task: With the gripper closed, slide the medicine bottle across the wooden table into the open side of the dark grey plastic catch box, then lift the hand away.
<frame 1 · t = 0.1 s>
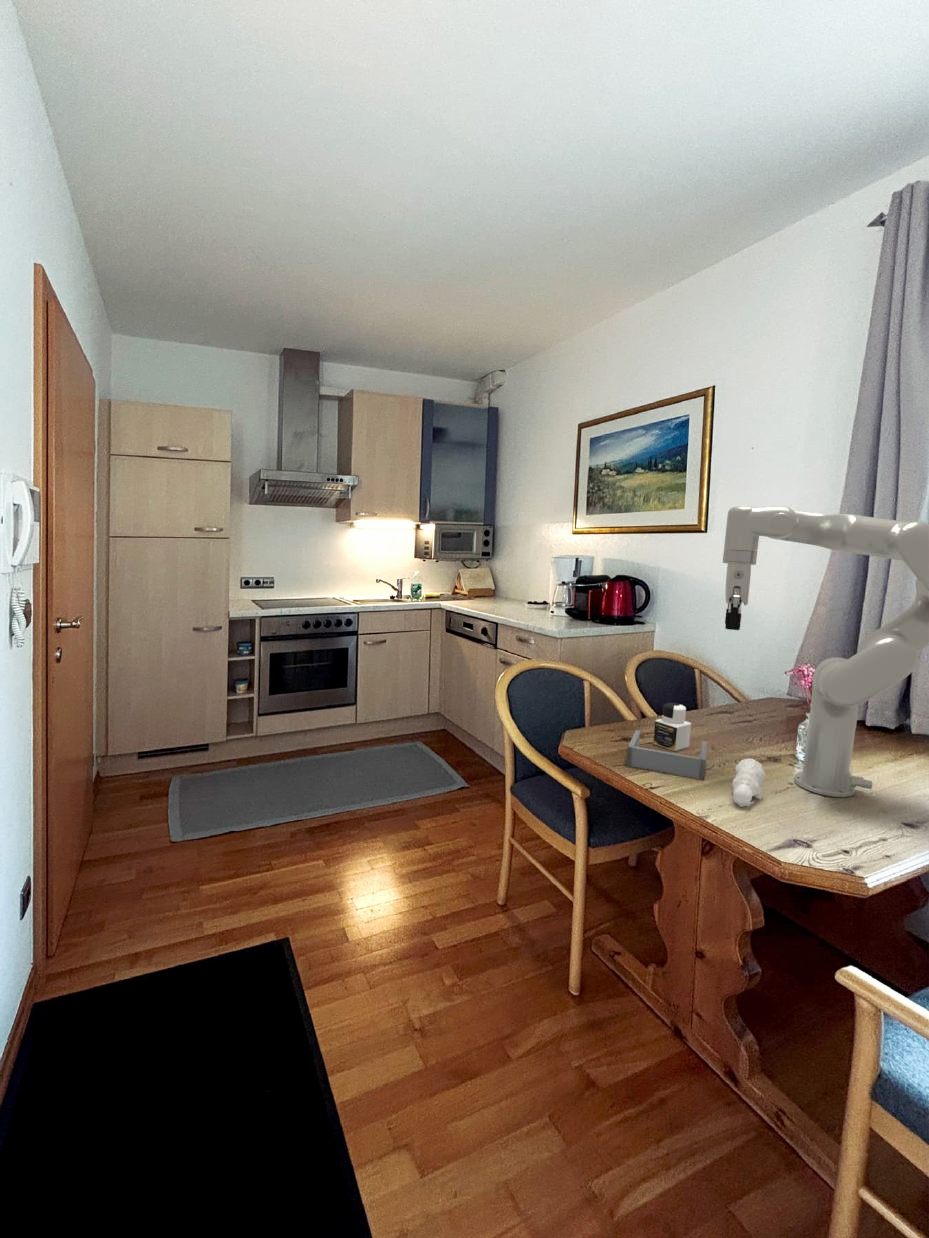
hand: (731, 627, 150), 37 cm above the table, tool pointing down, fingers open, 9 cm apart
medicine bottle: (670, 746, 170), on the table
catch box: (666, 761, 157), on the table
white animal figurine: (744, 801, 136), on the table
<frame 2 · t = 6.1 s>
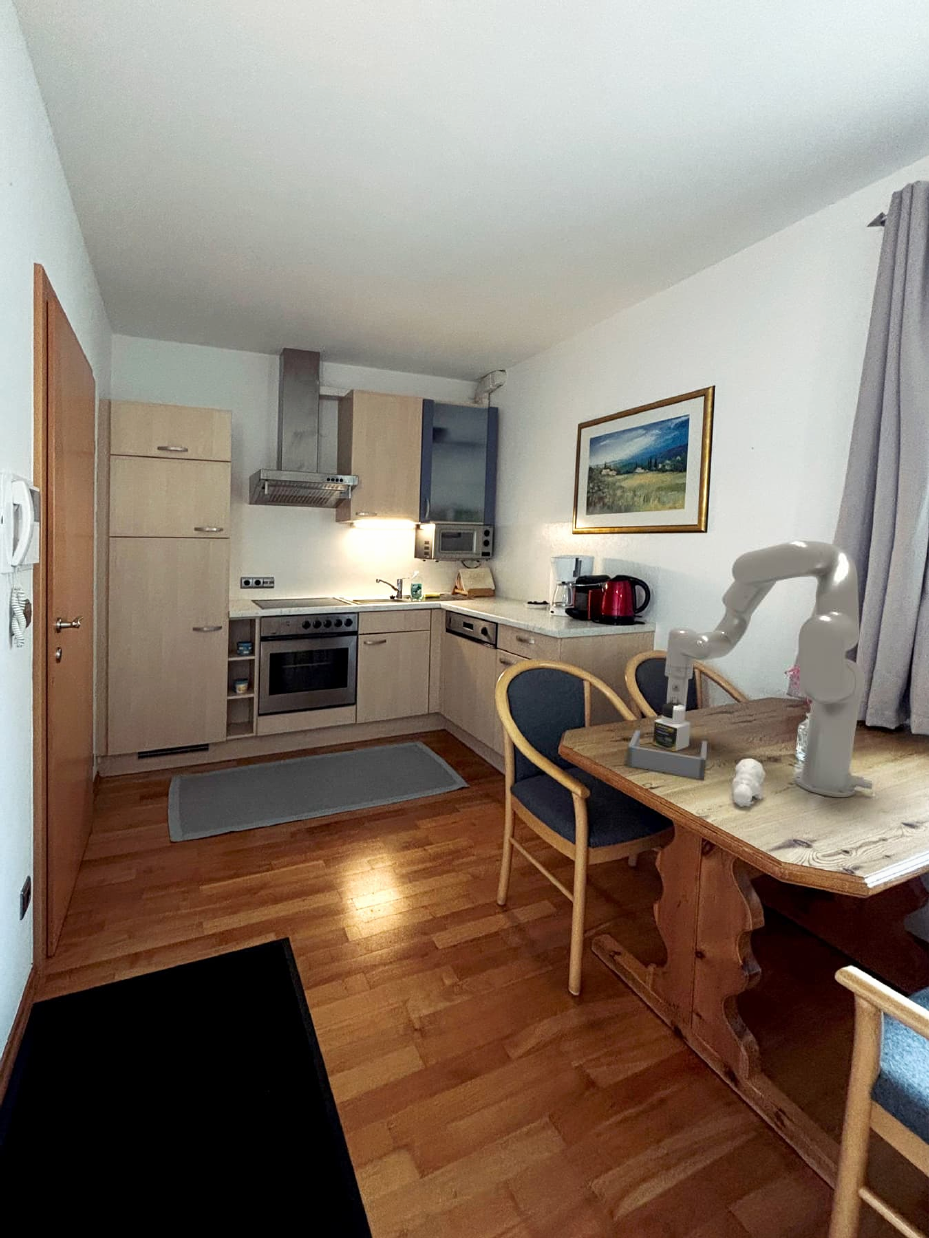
hand: (672, 731, 177), 2 cm above the table, tool pointing down, fingers closed
medicine bottle: (670, 746, 170), on the table, touching gripper
everything else where it was.
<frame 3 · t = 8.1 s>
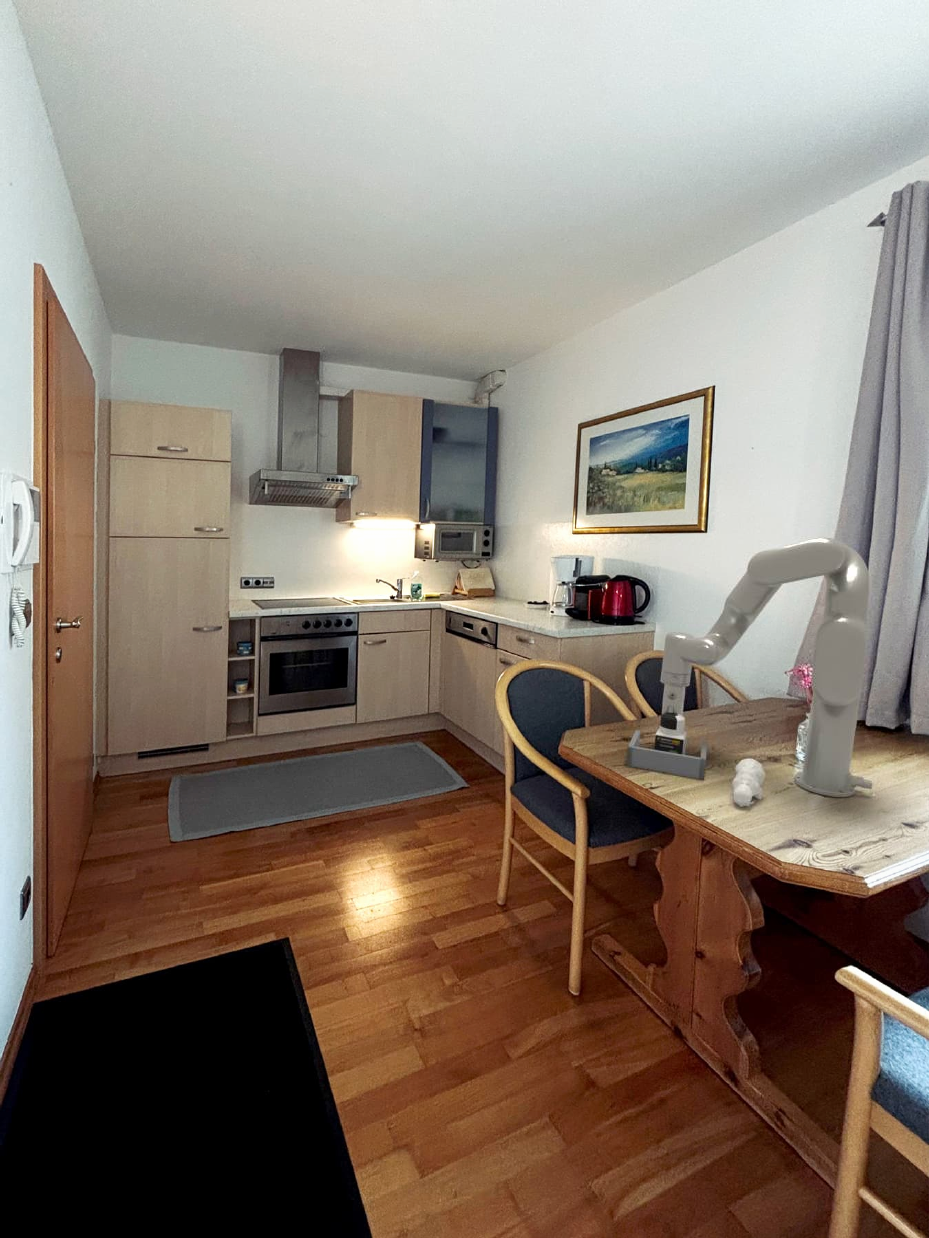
hand: (667, 742, 166), 2 cm above the table, tool pointing down, fingers closed
medicine bottle: (669, 758, 160), on the table, touching gripper
everything else where it was.
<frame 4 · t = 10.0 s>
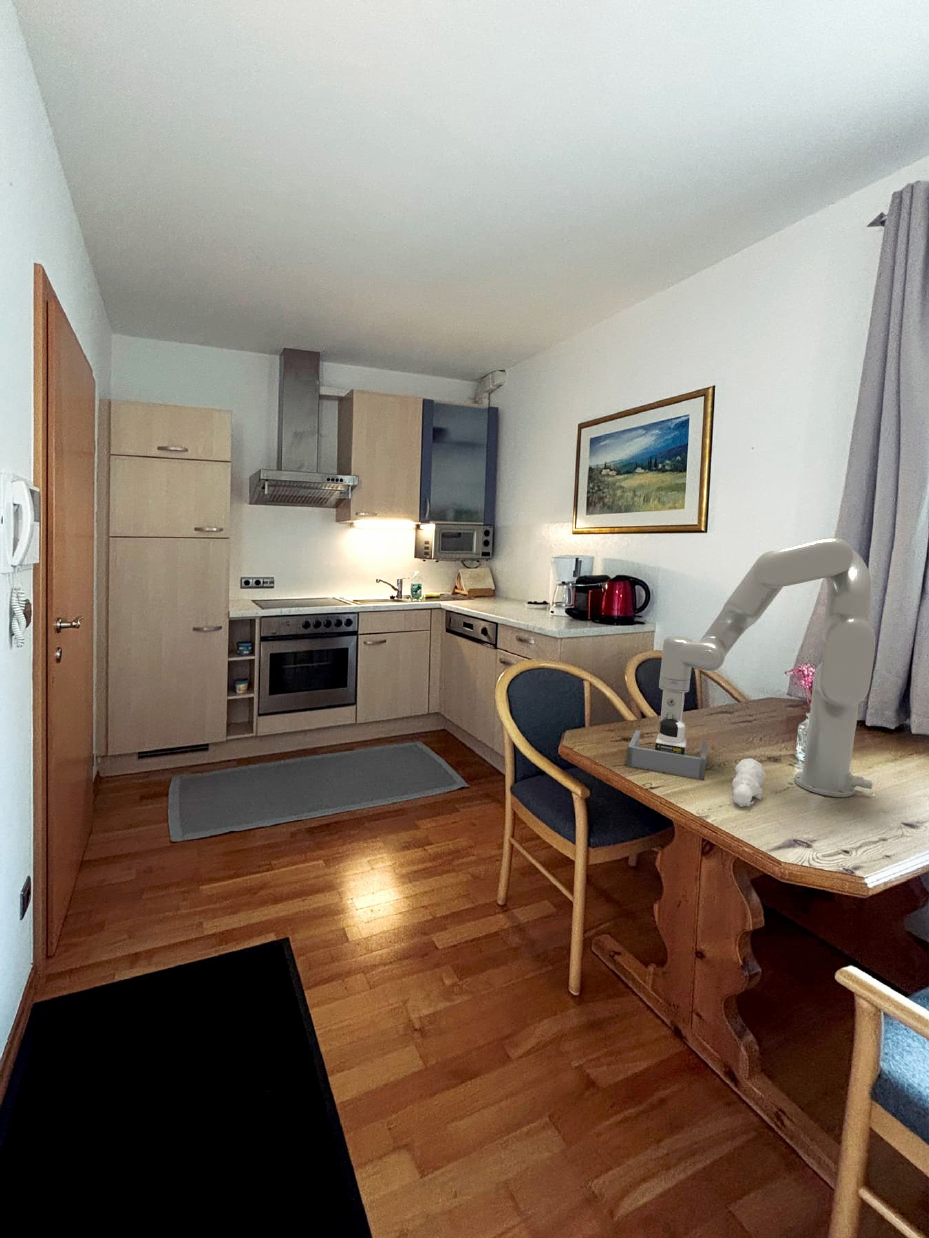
hand: (667, 750, 161), 2 cm above the table, tool pointing down, fingers closed
medicine bottle: (668, 766, 155), on the table, touching gripper
everything else where it was.
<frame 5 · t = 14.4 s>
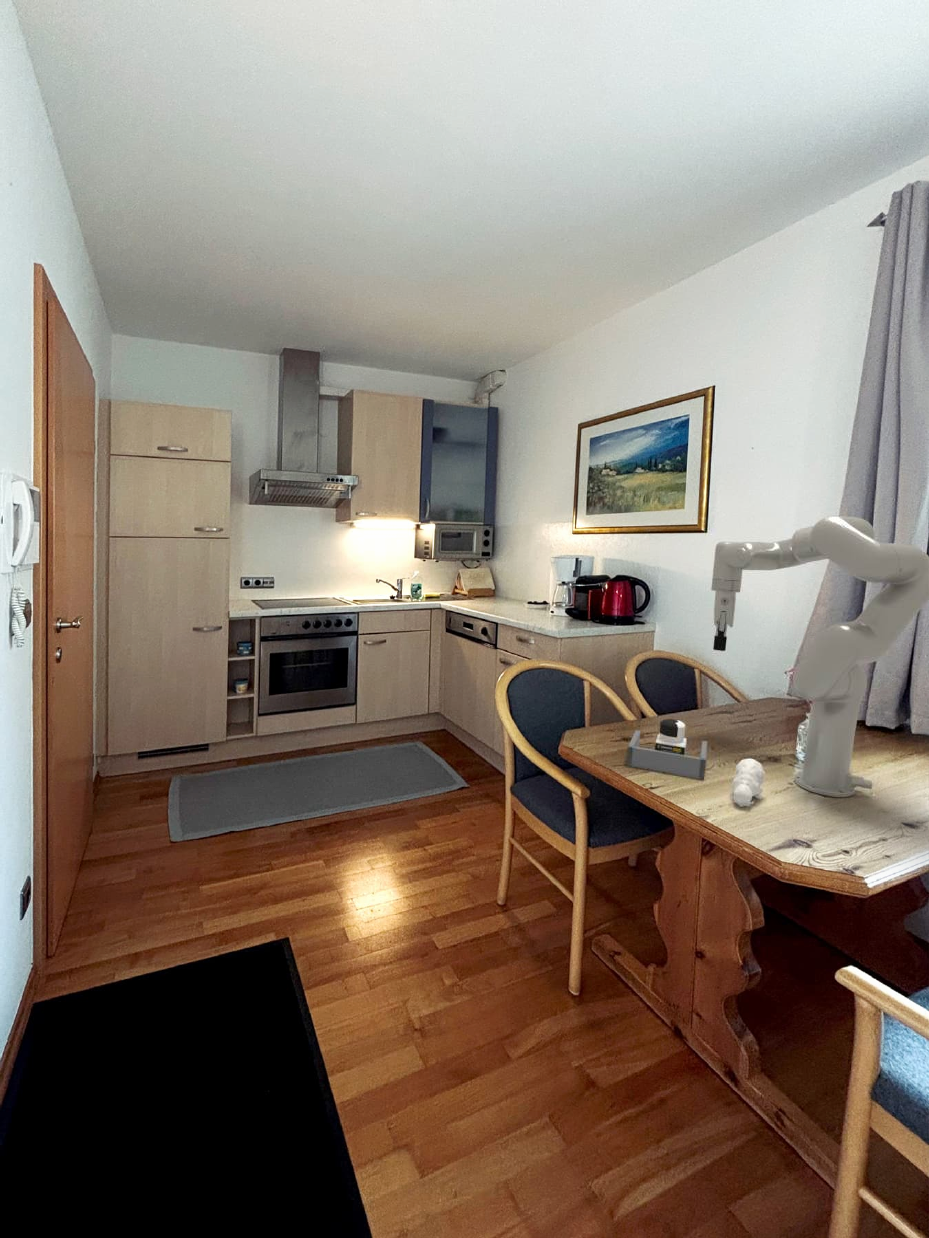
hand: (719, 649, 172), 27 cm above the table, tool pointing down, fingers closed
medicine bottle: (668, 767, 154), on the table
everything else where it was.
at the end: medicine bottle inside the target area on the catch box (2.4 cm from its centre), point 0.0 cm above the catch box's base; medicine bottle tilted 0° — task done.
